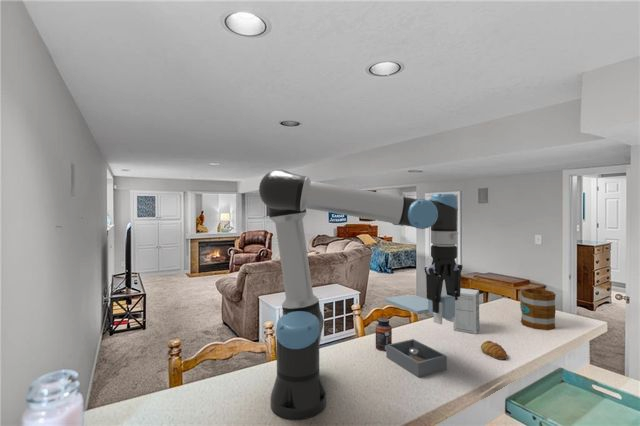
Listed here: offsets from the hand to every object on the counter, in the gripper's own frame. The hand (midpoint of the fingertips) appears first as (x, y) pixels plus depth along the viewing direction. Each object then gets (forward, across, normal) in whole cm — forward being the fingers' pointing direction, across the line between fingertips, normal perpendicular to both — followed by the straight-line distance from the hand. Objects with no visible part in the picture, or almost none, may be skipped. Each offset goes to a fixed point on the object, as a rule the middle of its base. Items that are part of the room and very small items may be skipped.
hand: (443, 321), depth 104 cm
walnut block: (+18, -2, +9) cm, 20 cm away
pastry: (+19, +32, +6) cm, 37 cm away
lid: (-2, 0, +9) cm, 9 cm away
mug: (+19, +77, +21) cm, 82 cm away
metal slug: (+18, +3, +16) cm, 24 cm away
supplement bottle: (+19, -2, +28) cm, 34 cm away
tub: (+19, 0, +13) cm, 22 cm away
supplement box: (+19, +43, +29) cm, 55 cm away
